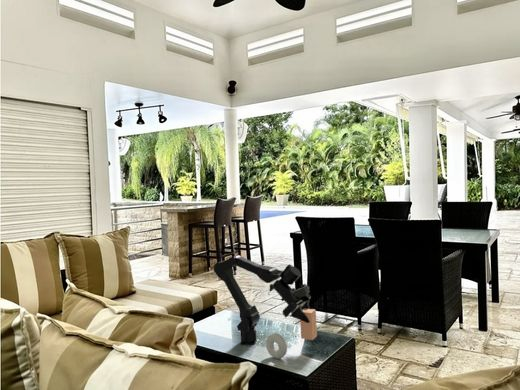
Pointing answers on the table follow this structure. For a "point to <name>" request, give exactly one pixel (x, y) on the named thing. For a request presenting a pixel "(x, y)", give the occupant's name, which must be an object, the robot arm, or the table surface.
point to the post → (309, 325)
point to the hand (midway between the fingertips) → (311, 320)
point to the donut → (271, 348)
